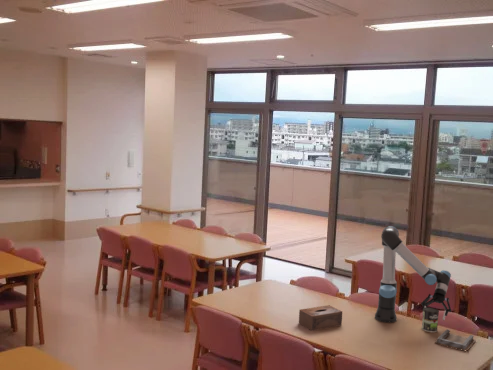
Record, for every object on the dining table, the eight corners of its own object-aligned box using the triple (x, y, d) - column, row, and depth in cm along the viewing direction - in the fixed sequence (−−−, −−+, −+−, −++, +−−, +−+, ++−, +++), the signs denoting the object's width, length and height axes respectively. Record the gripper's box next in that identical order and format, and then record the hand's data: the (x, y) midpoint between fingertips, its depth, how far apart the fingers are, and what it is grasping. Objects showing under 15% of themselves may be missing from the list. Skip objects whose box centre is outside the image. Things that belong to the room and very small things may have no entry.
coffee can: (440, 331, 366) (442, 311, 364) (427, 332, 363) (428, 312, 361) (431, 326, 375) (433, 306, 374) (418, 327, 373) (420, 307, 371)
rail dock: (434, 343, 345) (434, 338, 344) (444, 333, 363) (444, 328, 362) (467, 351, 333) (467, 346, 333) (475, 341, 351) (475, 336, 351)
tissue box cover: (311, 331, 357) (312, 316, 356) (298, 323, 369) (299, 309, 368) (341, 325, 370) (342, 311, 369) (328, 318, 382) (329, 305, 381)
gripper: (459, 297, 375) (452, 324, 365) (423, 290, 389) (415, 315, 379) (458, 291, 370) (451, 318, 360) (422, 284, 384) (414, 310, 374)
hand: (433, 317), depth 369 cm, fingers open, 13 cm apart
